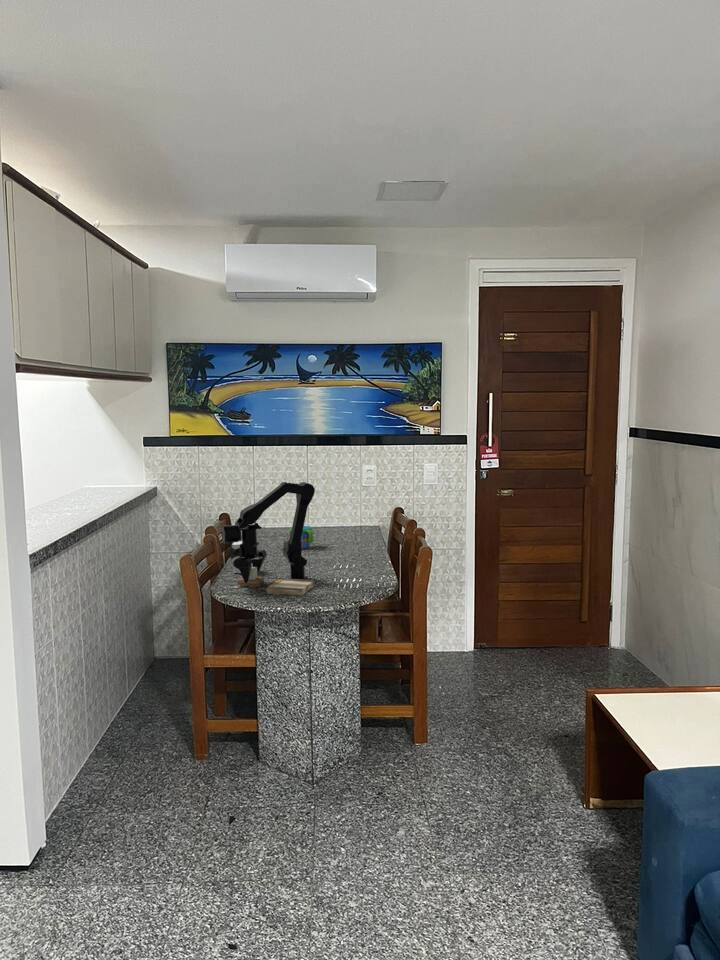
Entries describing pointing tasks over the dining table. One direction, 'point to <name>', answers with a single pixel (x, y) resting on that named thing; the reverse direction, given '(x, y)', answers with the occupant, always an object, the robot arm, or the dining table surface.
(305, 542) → the snack cup
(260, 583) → the walnut pallet
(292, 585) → the birch dock
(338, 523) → the dining table surface
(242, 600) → the dining table surface
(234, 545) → the supplement box
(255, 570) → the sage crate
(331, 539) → the dining table surface
